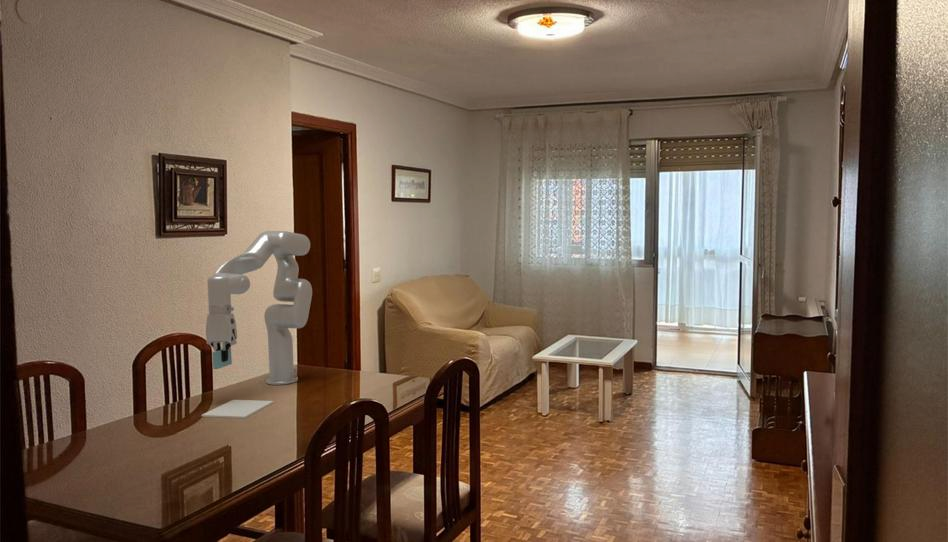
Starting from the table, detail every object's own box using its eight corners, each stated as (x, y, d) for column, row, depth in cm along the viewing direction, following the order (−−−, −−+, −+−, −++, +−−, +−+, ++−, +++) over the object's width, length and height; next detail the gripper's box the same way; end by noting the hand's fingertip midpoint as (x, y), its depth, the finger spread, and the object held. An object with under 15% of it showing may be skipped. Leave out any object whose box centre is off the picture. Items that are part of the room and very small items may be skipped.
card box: (227, 363, 258) (226, 347, 258) (231, 363, 258) (230, 347, 257) (213, 369, 250) (212, 352, 249) (217, 369, 249) (216, 352, 249)
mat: (233, 401, 256) (233, 399, 256) (273, 402, 253) (273, 401, 253) (201, 416, 237) (201, 414, 237) (244, 418, 234) (244, 416, 234)
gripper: (245, 309, 254) (247, 359, 255) (207, 308, 258) (209, 358, 259) (233, 311, 247) (235, 363, 248) (194, 311, 250) (196, 362, 252)
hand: (222, 360), depth 254 cm, fingers closed on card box, 1 cm apart
